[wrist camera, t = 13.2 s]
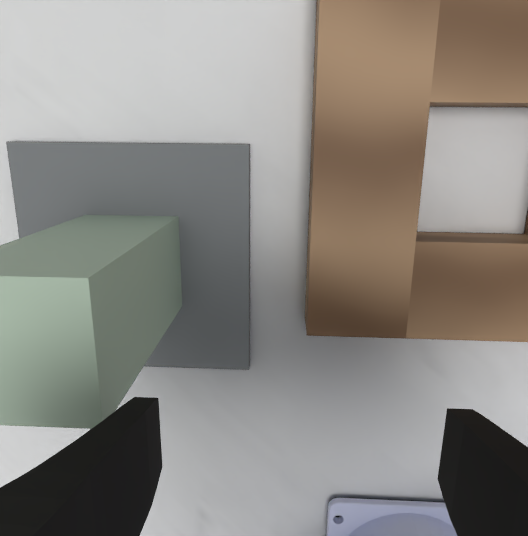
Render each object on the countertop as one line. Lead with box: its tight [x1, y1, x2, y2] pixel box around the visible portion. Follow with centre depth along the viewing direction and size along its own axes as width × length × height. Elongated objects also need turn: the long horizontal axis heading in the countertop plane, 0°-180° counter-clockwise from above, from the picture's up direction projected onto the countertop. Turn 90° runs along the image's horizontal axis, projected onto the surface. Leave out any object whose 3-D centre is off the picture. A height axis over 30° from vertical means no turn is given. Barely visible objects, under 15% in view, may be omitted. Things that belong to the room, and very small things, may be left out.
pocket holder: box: [305, 0, 528, 342], centre depth 17 cm, size 13×13×2 cm
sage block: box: [0, 215, 182, 429], centre depth 15 cm, size 4×4×9 cm
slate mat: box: [6, 142, 250, 370], centre depth 20 cm, size 10×10×1 cm
